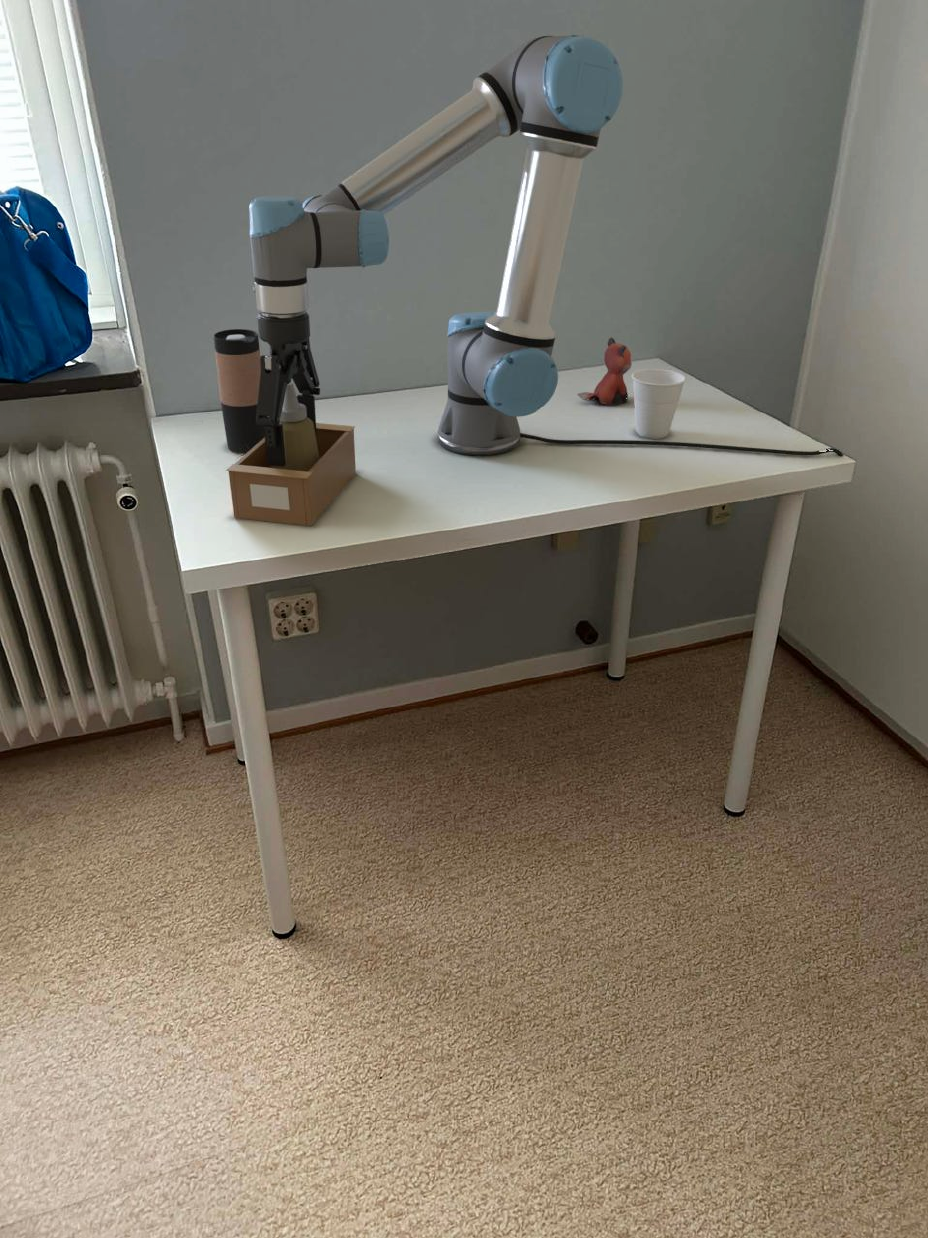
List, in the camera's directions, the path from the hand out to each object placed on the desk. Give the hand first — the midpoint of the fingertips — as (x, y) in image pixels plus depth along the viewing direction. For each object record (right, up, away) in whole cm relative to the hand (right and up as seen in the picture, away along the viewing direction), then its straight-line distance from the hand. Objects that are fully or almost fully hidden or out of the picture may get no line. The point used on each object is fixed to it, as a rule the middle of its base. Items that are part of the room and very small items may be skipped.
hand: (292, 449), depth 151 cm
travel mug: (-12, +4, +22) cm, 26 cm away
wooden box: (0, -7, +4) cm, 8 cm away
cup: (+63, +8, +30) cm, 70 cm away
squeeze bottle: (0, -7, +4) cm, 8 cm away
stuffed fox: (+56, +18, +47) cm, 75 cm away
